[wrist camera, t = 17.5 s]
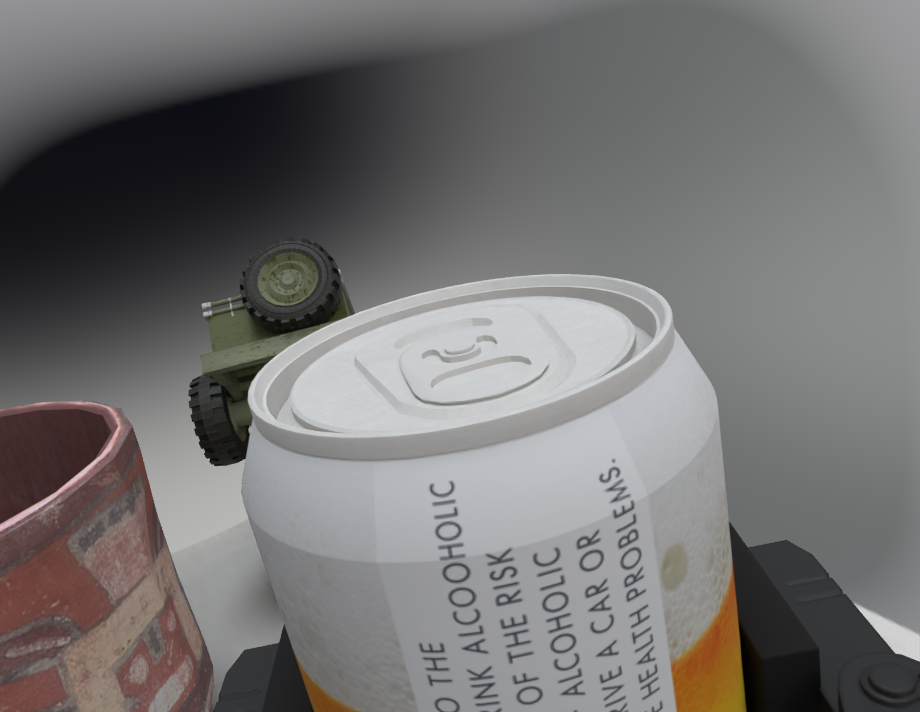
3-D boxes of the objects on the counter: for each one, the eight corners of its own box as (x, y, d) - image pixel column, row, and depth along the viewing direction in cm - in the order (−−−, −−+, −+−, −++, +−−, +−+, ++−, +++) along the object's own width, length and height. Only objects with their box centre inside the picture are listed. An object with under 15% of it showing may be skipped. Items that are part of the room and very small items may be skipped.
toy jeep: (433, 487, 63) (402, 368, 67) (400, 374, 40) (356, 203, 44) (288, 527, 62) (266, 404, 66) (168, 435, 39) (145, 255, 43)
